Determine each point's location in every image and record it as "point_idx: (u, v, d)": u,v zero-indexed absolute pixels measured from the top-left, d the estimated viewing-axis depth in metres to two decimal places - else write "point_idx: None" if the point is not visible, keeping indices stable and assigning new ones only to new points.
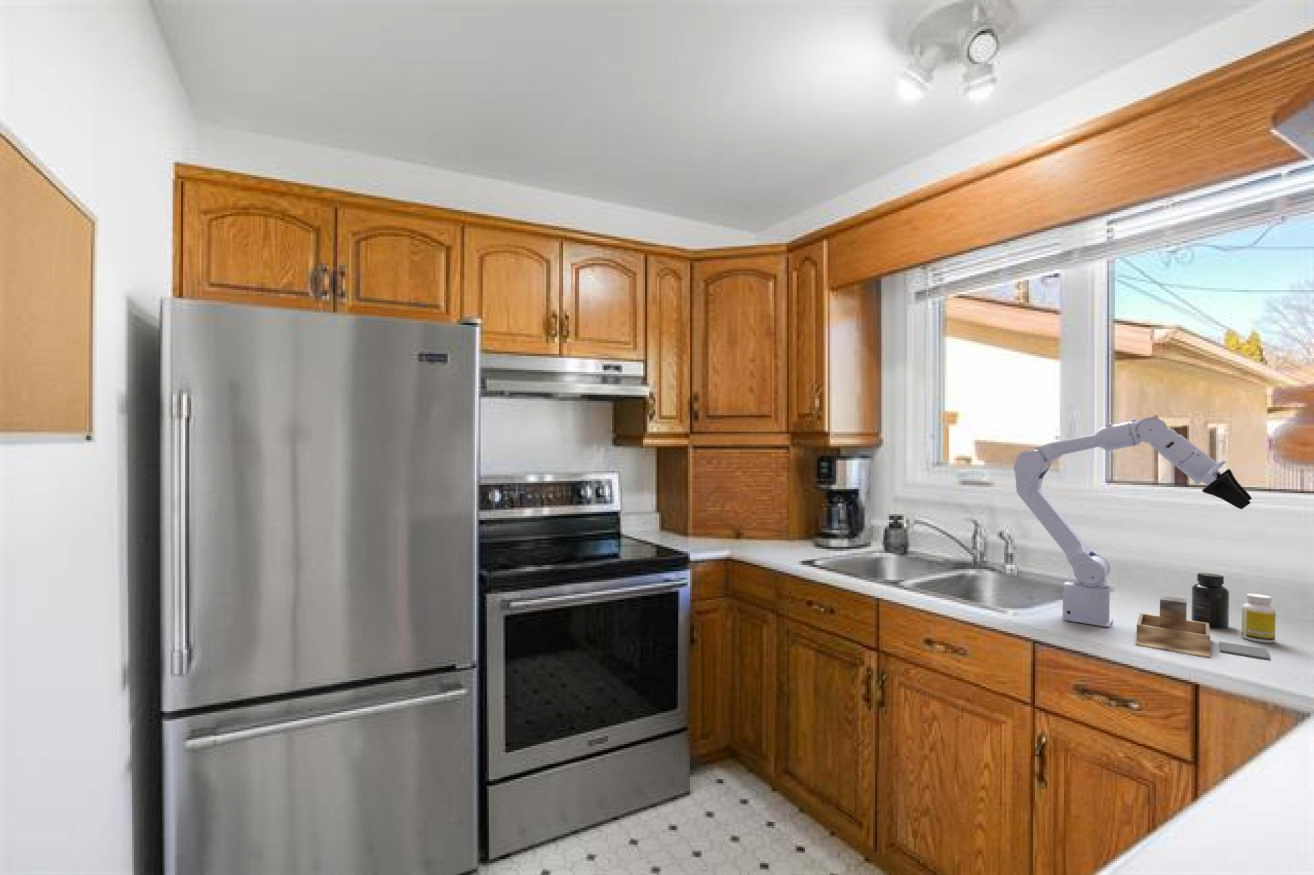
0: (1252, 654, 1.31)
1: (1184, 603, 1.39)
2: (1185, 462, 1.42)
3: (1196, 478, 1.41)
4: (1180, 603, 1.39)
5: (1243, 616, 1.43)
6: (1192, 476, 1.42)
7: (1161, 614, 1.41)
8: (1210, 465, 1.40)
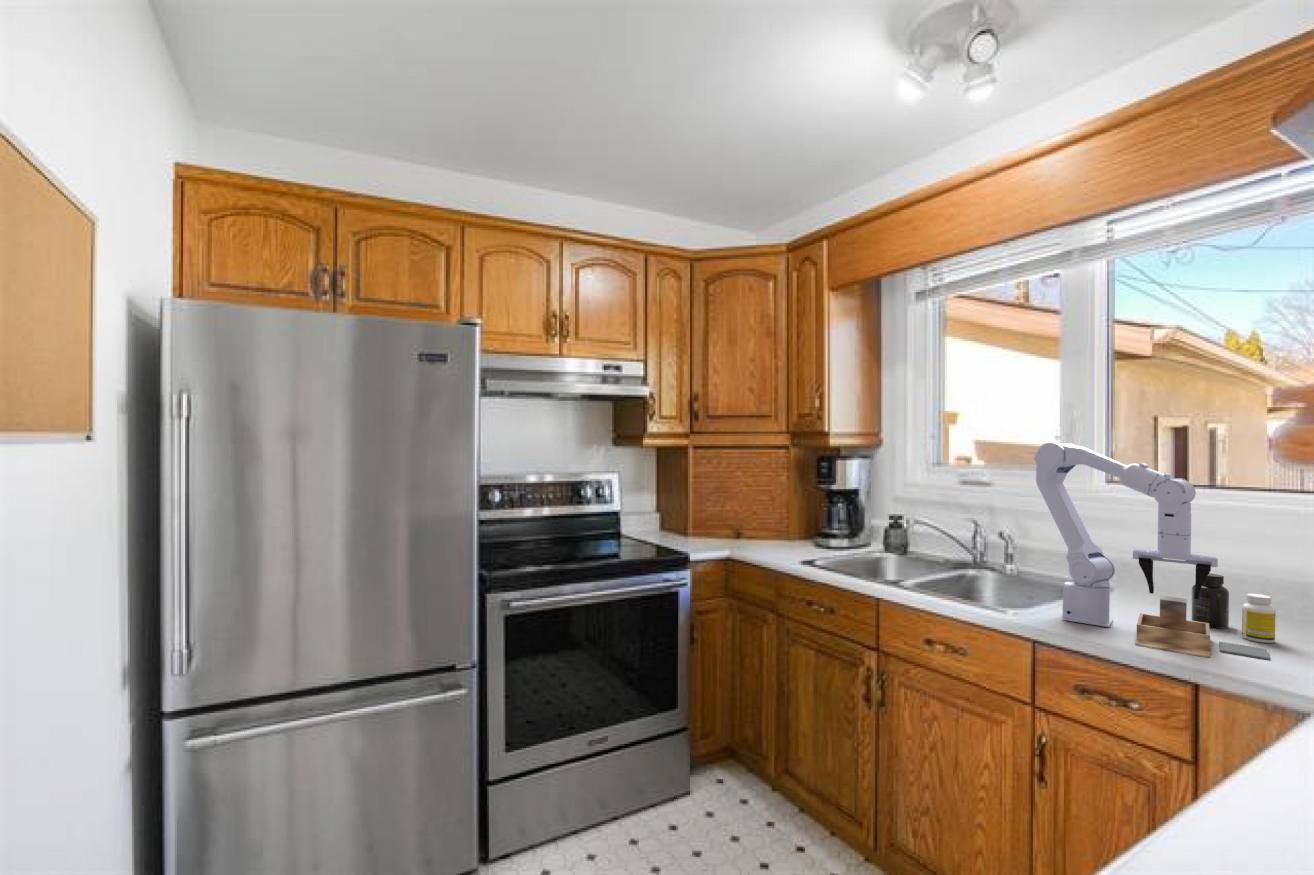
0: (1252, 654, 1.31)
1: (1184, 603, 1.39)
2: None
3: None
4: (1180, 603, 1.39)
5: (1243, 616, 1.43)
6: None
7: (1161, 614, 1.41)
8: (1161, 550, 1.42)
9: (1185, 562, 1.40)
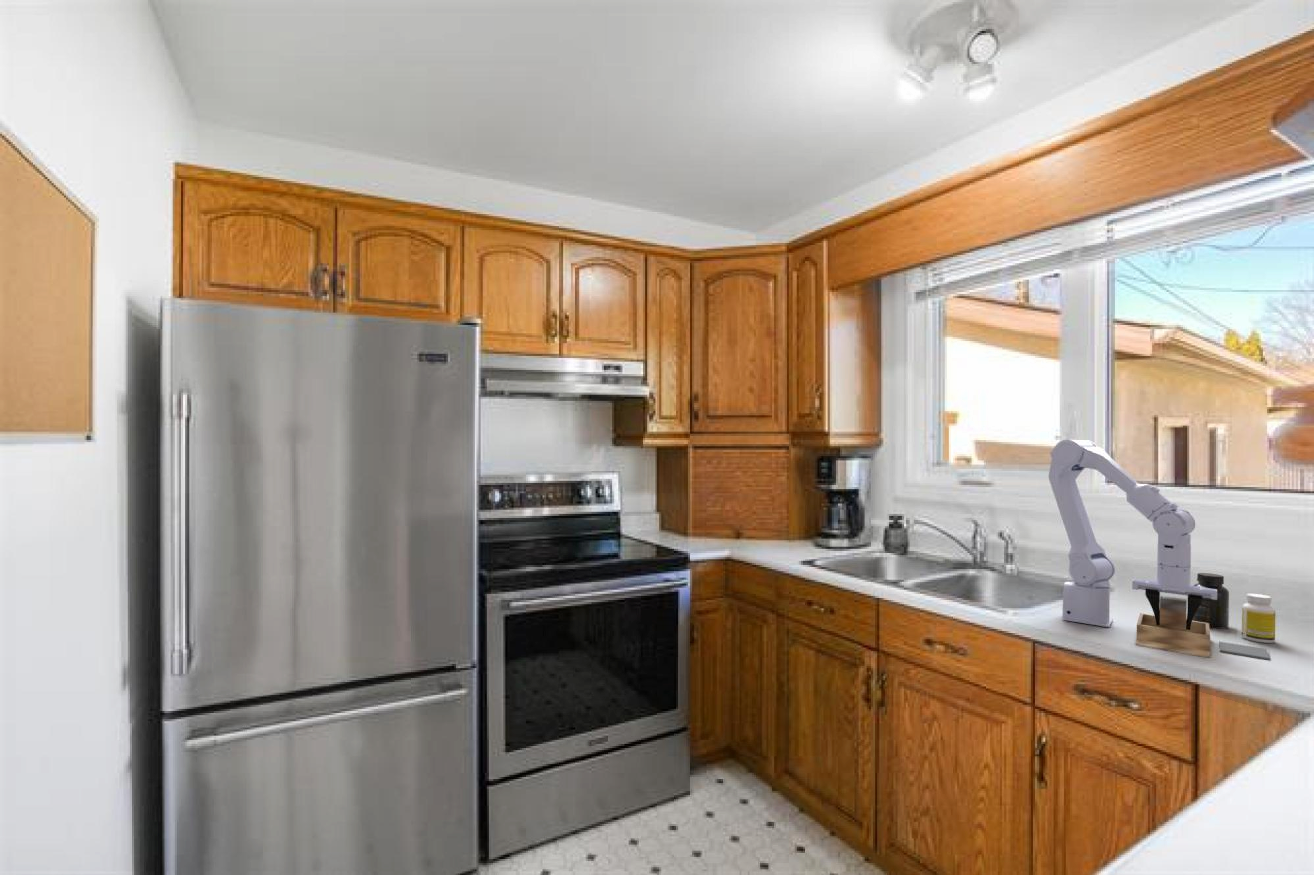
0: (1252, 654, 1.31)
1: (1184, 603, 1.39)
2: None
3: None
4: (1180, 603, 1.39)
5: (1243, 616, 1.43)
6: None
7: (1161, 614, 1.41)
8: (1160, 581, 1.42)
9: (1185, 593, 1.40)
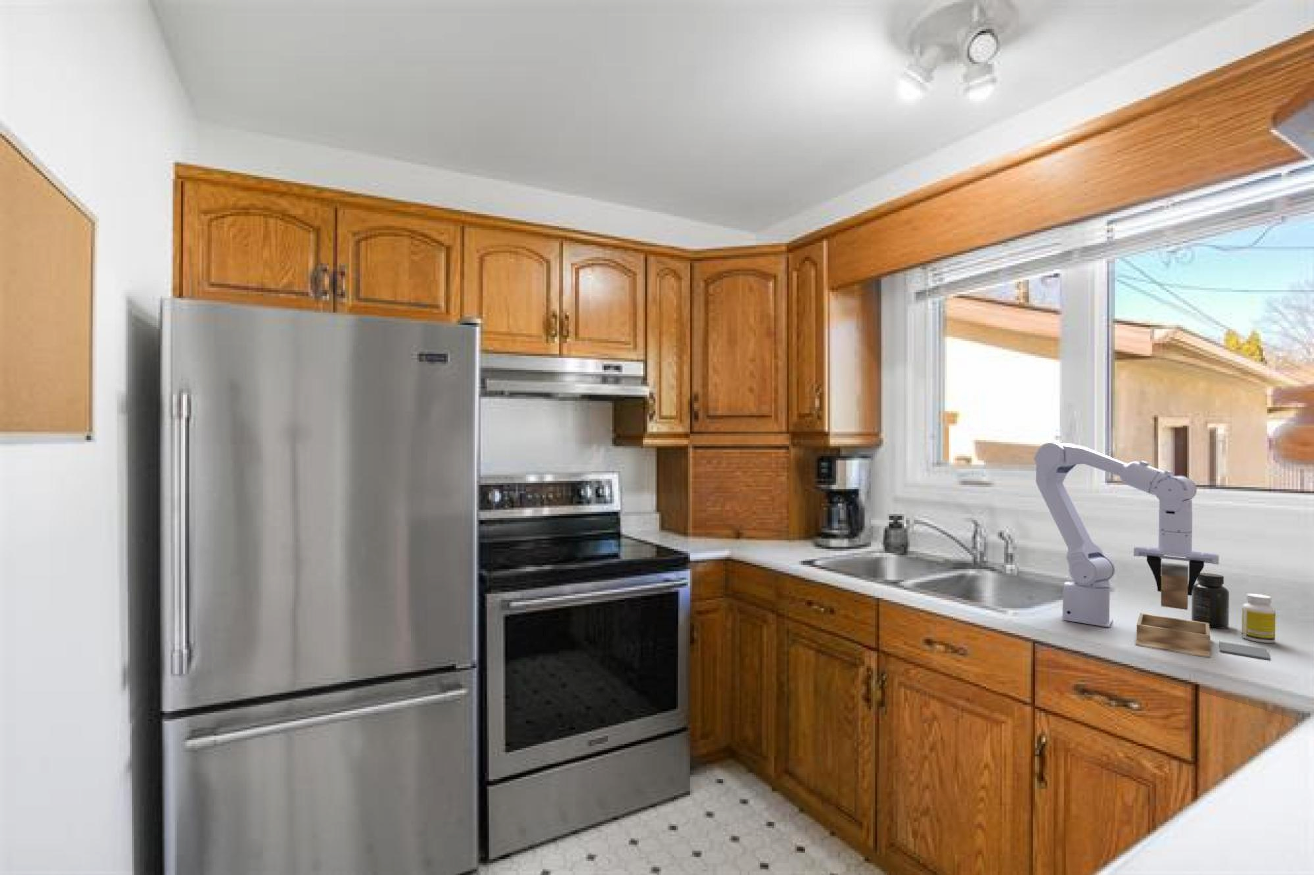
0: (1252, 654, 1.31)
1: (1186, 568, 1.39)
2: None
3: None
4: (1182, 568, 1.39)
5: (1243, 616, 1.43)
6: None
7: (1162, 580, 1.41)
8: (1162, 547, 1.42)
9: (1186, 559, 1.40)
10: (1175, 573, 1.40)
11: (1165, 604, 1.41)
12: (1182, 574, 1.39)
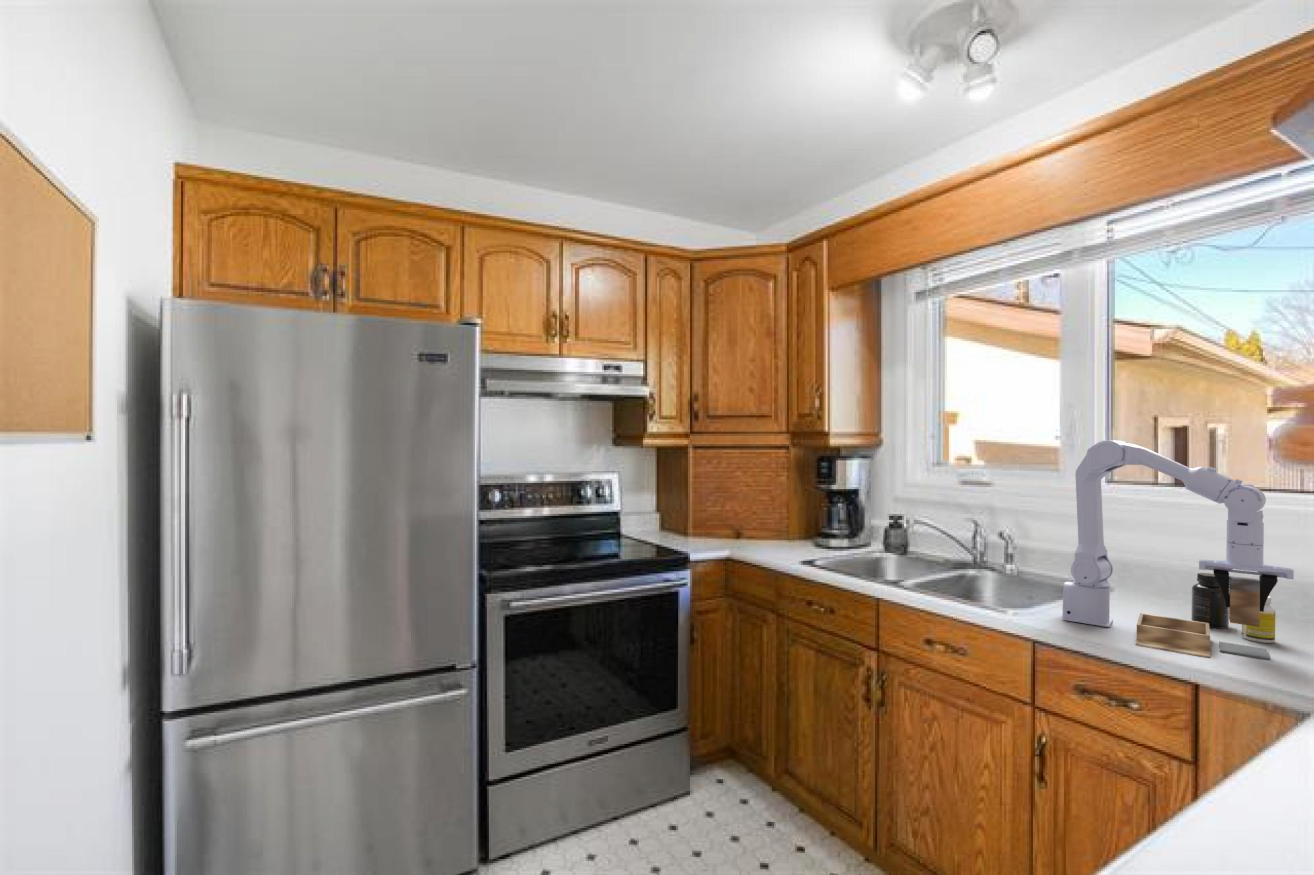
0: (1252, 654, 1.31)
1: (1257, 583, 1.31)
2: None
3: None
4: (1253, 583, 1.32)
5: None
6: None
7: (1232, 595, 1.34)
8: (1230, 560, 1.34)
9: (1257, 573, 1.33)
10: (1246, 588, 1.33)
11: (1234, 620, 1.34)
12: (1253, 589, 1.32)
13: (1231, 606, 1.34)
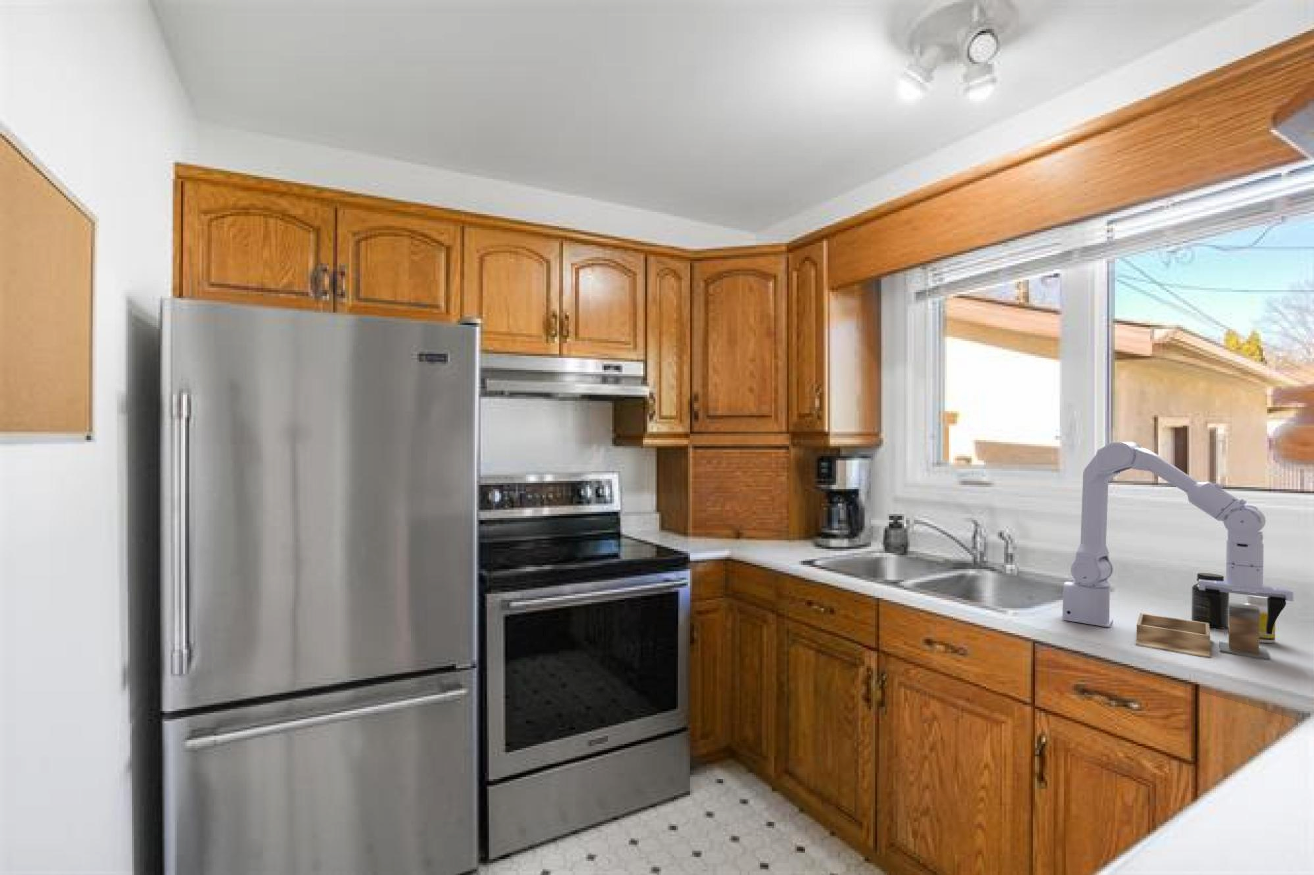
0: (1252, 654, 1.31)
1: (1257, 611, 1.31)
2: None
3: None
4: (1252, 611, 1.32)
5: None
6: None
7: (1231, 622, 1.34)
8: (1230, 581, 1.34)
9: (1257, 594, 1.33)
10: (1245, 615, 1.33)
11: (1234, 648, 1.34)
12: (1253, 617, 1.32)
13: (1231, 633, 1.34)
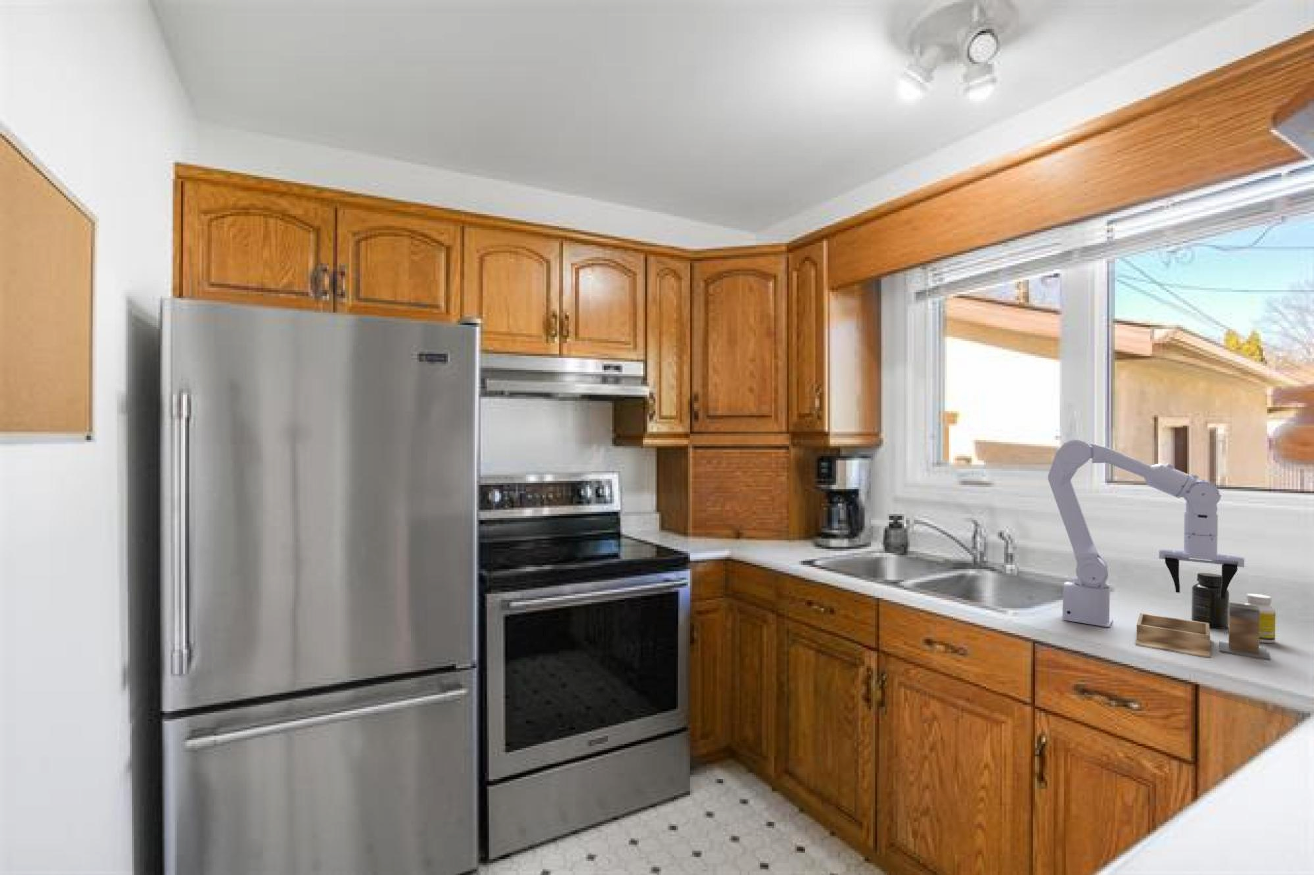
0: (1252, 654, 1.31)
1: (1257, 611, 1.31)
2: None
3: None
4: (1252, 611, 1.32)
5: None
6: None
7: (1231, 622, 1.34)
8: (1187, 550, 1.44)
9: (1211, 562, 1.43)
10: (1245, 615, 1.33)
11: (1234, 648, 1.34)
12: (1253, 617, 1.32)
13: (1231, 633, 1.34)
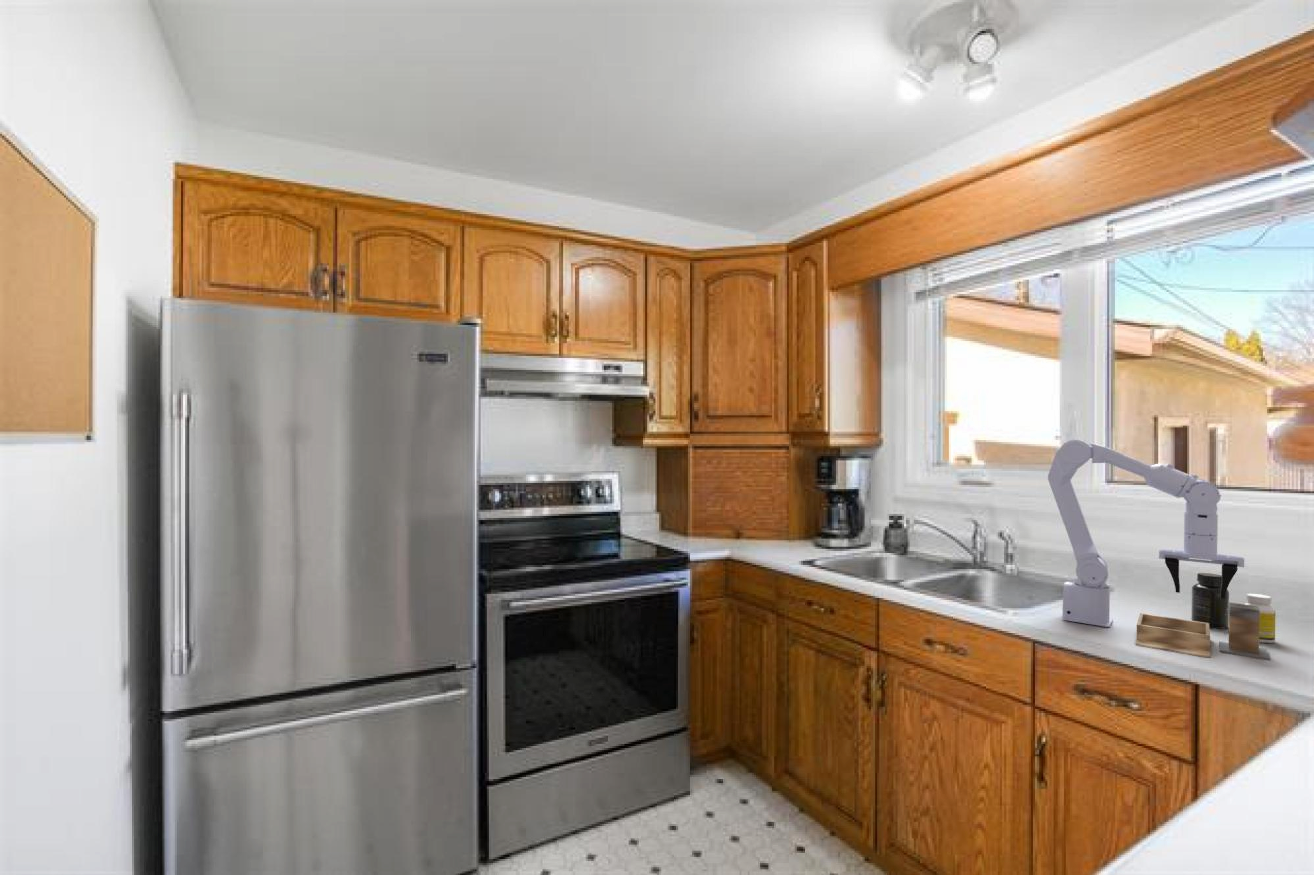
0: (1252, 654, 1.31)
1: (1257, 611, 1.31)
2: None
3: None
4: (1252, 611, 1.32)
5: None
6: None
7: (1231, 622, 1.34)
8: (1187, 550, 1.44)
9: (1211, 562, 1.43)
10: (1245, 615, 1.33)
11: (1234, 648, 1.34)
12: (1253, 617, 1.32)
13: (1231, 633, 1.34)
